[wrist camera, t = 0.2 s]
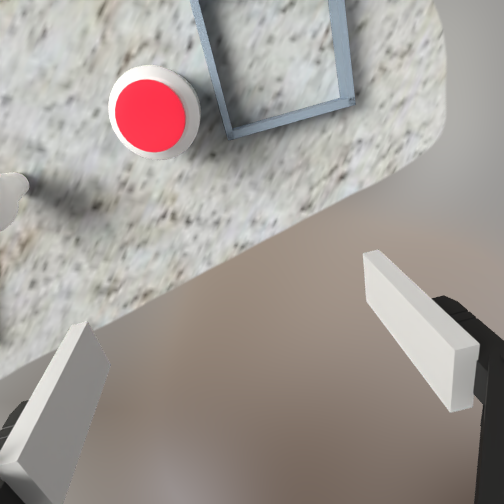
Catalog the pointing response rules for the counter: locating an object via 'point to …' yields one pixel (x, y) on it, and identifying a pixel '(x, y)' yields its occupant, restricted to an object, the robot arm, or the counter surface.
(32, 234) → the counter surface
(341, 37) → the frame
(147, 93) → the pill bottle
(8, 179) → the lightbulb
